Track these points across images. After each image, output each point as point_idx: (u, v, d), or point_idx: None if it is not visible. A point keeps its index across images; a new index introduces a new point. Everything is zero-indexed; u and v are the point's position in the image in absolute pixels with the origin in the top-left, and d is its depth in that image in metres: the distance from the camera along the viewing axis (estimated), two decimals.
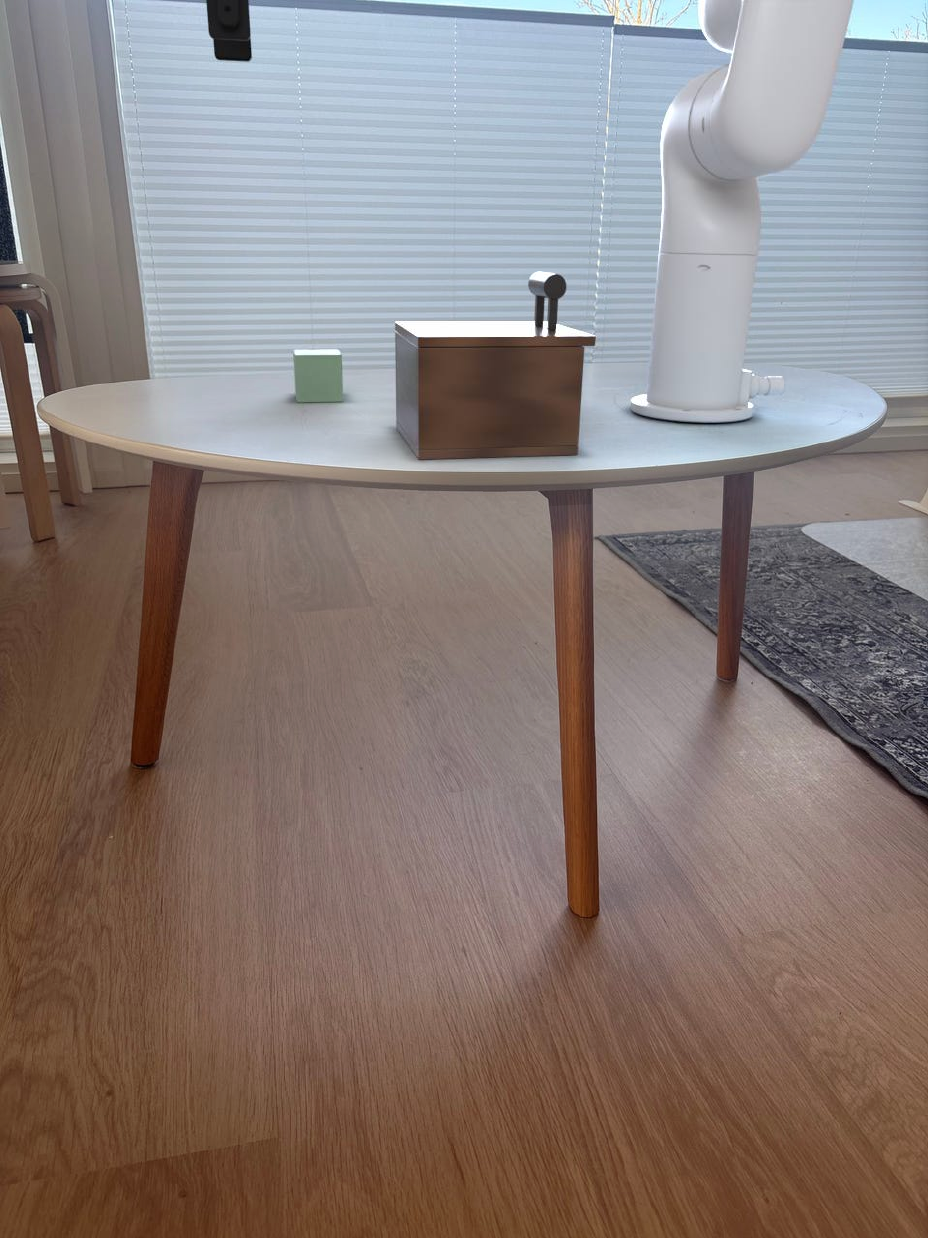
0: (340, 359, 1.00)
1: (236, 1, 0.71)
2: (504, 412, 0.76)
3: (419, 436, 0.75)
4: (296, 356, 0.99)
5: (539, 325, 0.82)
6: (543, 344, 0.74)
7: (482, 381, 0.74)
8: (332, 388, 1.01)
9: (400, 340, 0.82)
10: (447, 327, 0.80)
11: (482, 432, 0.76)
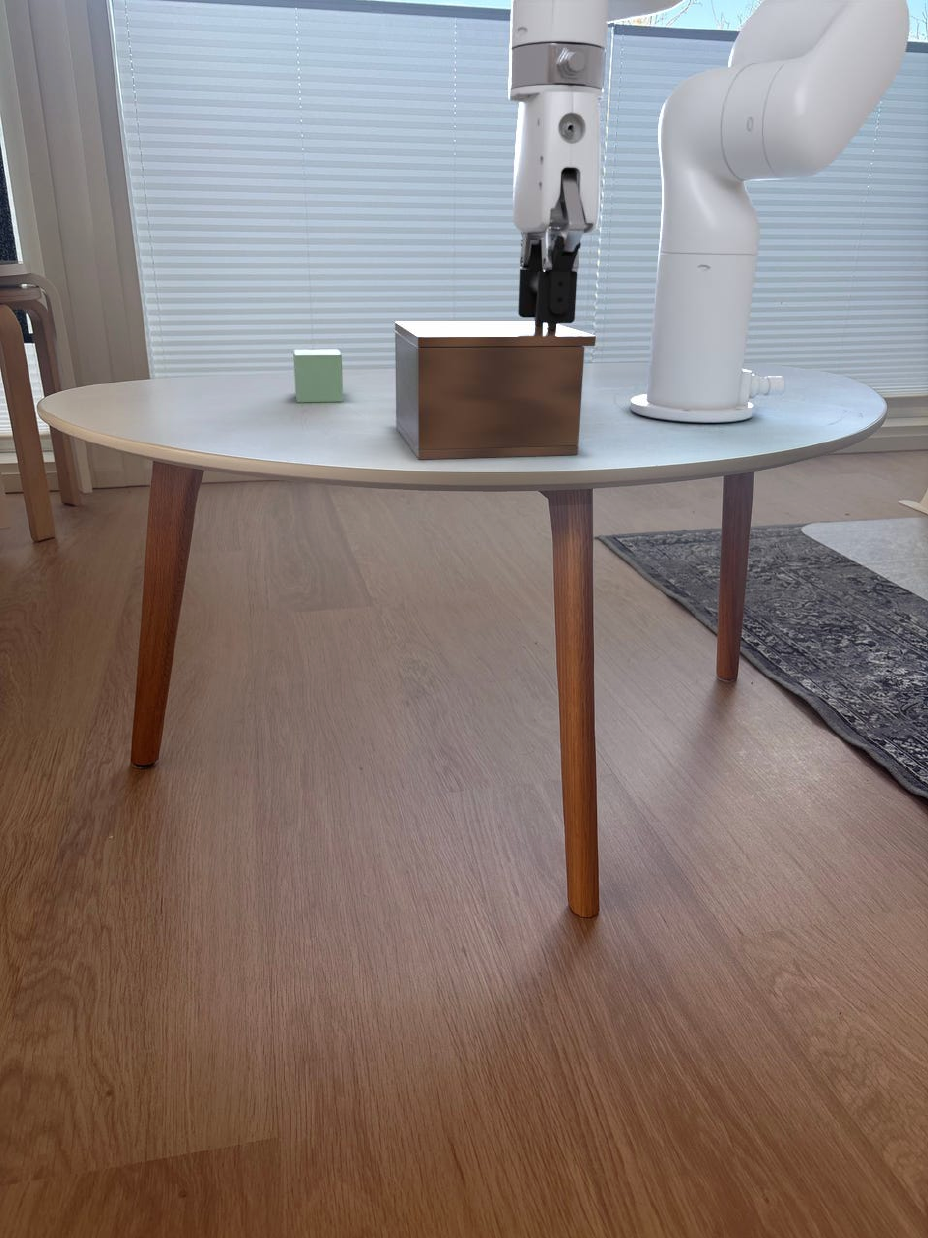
0: (340, 359, 1.00)
1: (568, 293, 0.76)
2: (504, 412, 0.76)
3: (419, 436, 0.75)
4: (296, 356, 0.99)
5: (539, 325, 0.82)
6: (543, 344, 0.74)
7: (482, 381, 0.74)
8: (332, 388, 1.01)
9: (400, 340, 0.82)
10: (447, 327, 0.80)
11: (482, 432, 0.76)
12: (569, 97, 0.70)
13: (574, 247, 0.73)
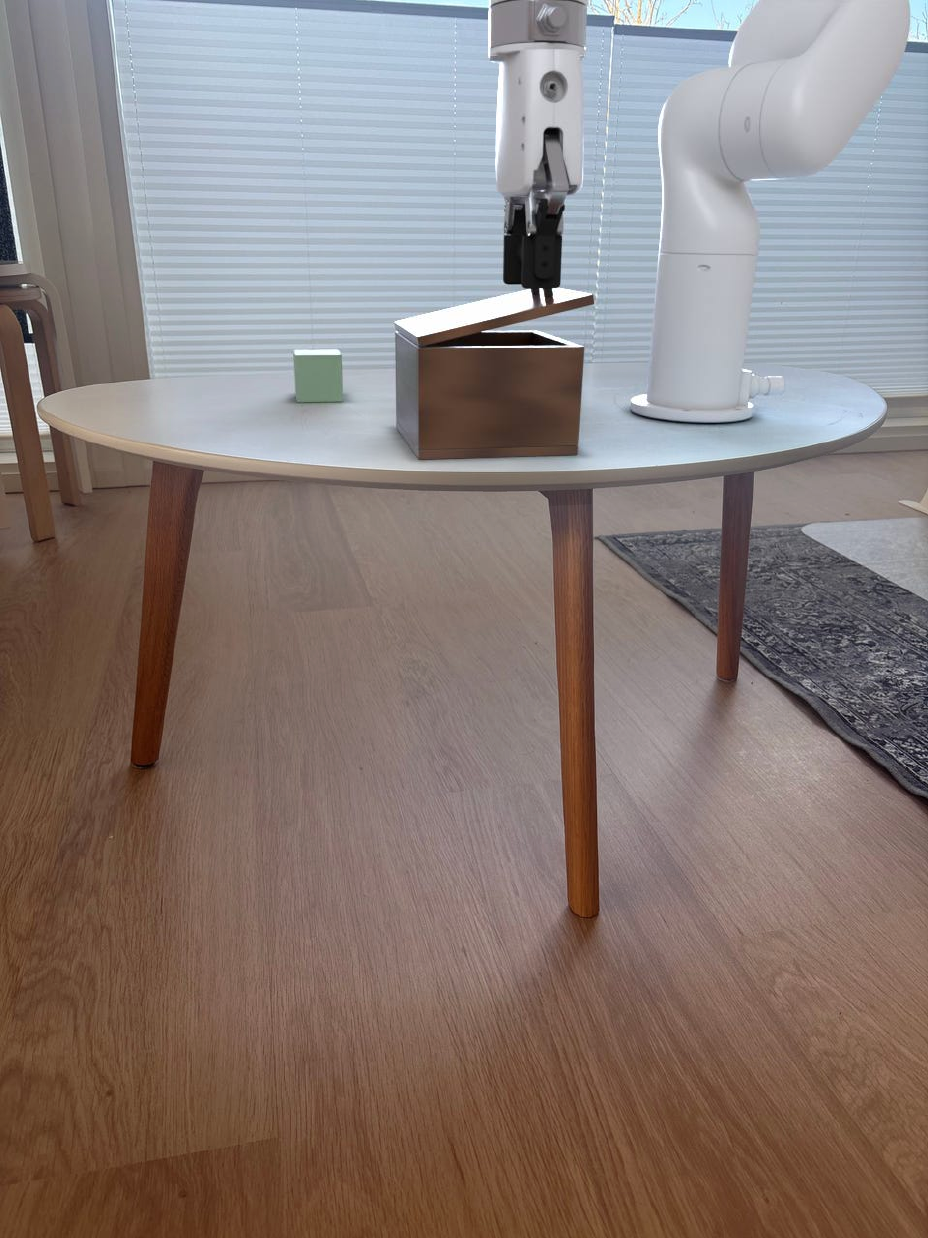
0: (340, 359, 1.00)
1: (553, 257, 0.75)
2: (504, 412, 0.76)
3: (419, 436, 0.75)
4: (296, 356, 0.99)
5: (536, 293, 0.81)
6: (542, 315, 0.73)
7: (482, 381, 0.74)
8: (332, 388, 1.01)
9: (400, 340, 0.82)
10: (445, 317, 0.79)
11: (482, 432, 0.76)
12: (550, 54, 0.69)
13: (558, 209, 0.72)
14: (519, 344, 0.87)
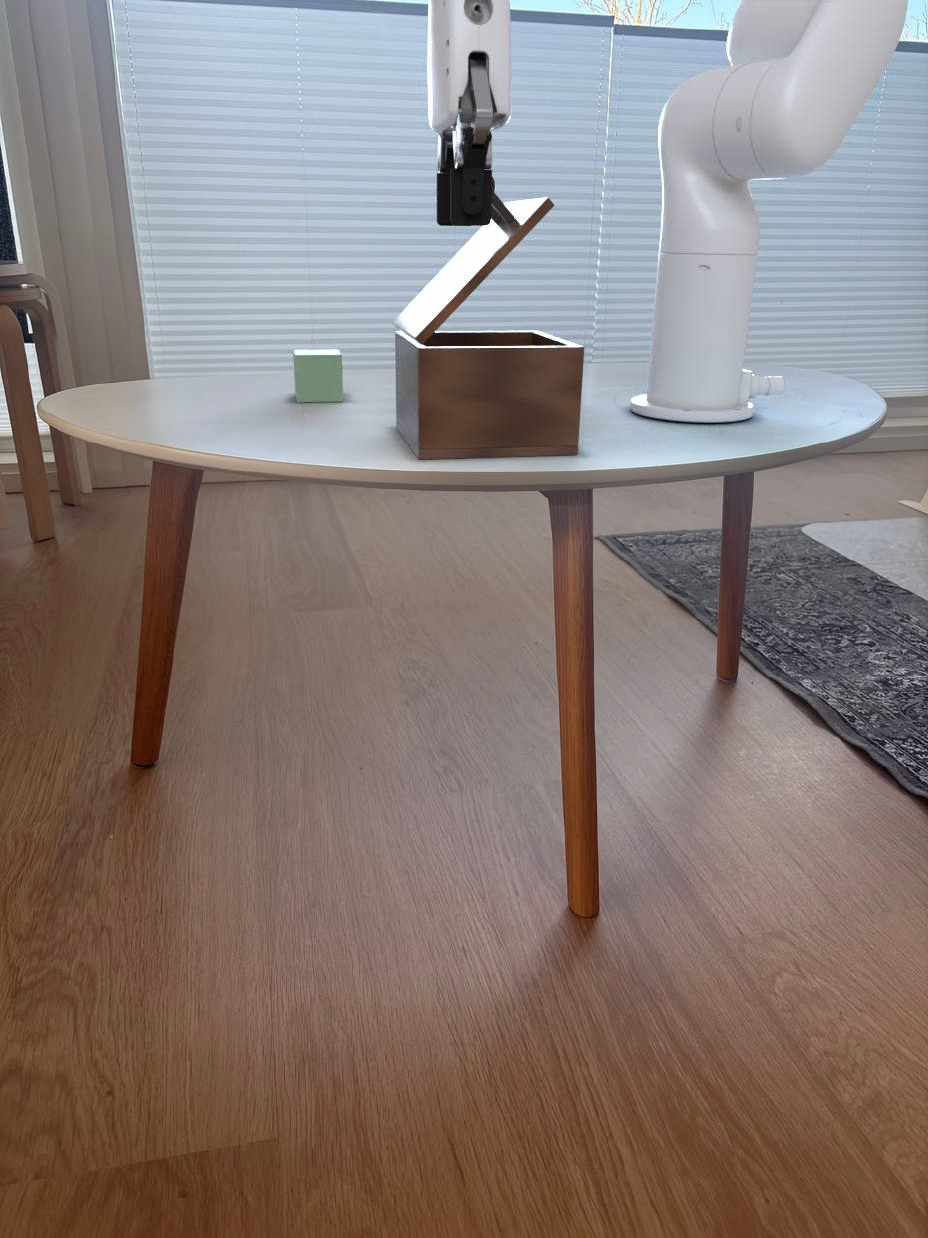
0: (340, 359, 1.00)
1: (482, 192, 0.72)
2: (504, 412, 0.76)
3: (419, 436, 0.75)
4: (296, 356, 0.99)
5: (499, 220, 0.78)
6: (513, 246, 0.71)
7: (482, 381, 0.74)
8: (332, 388, 1.01)
9: (400, 340, 0.82)
10: (431, 296, 0.79)
11: (482, 432, 0.76)
12: None
13: (485, 138, 0.69)
14: (519, 344, 0.87)
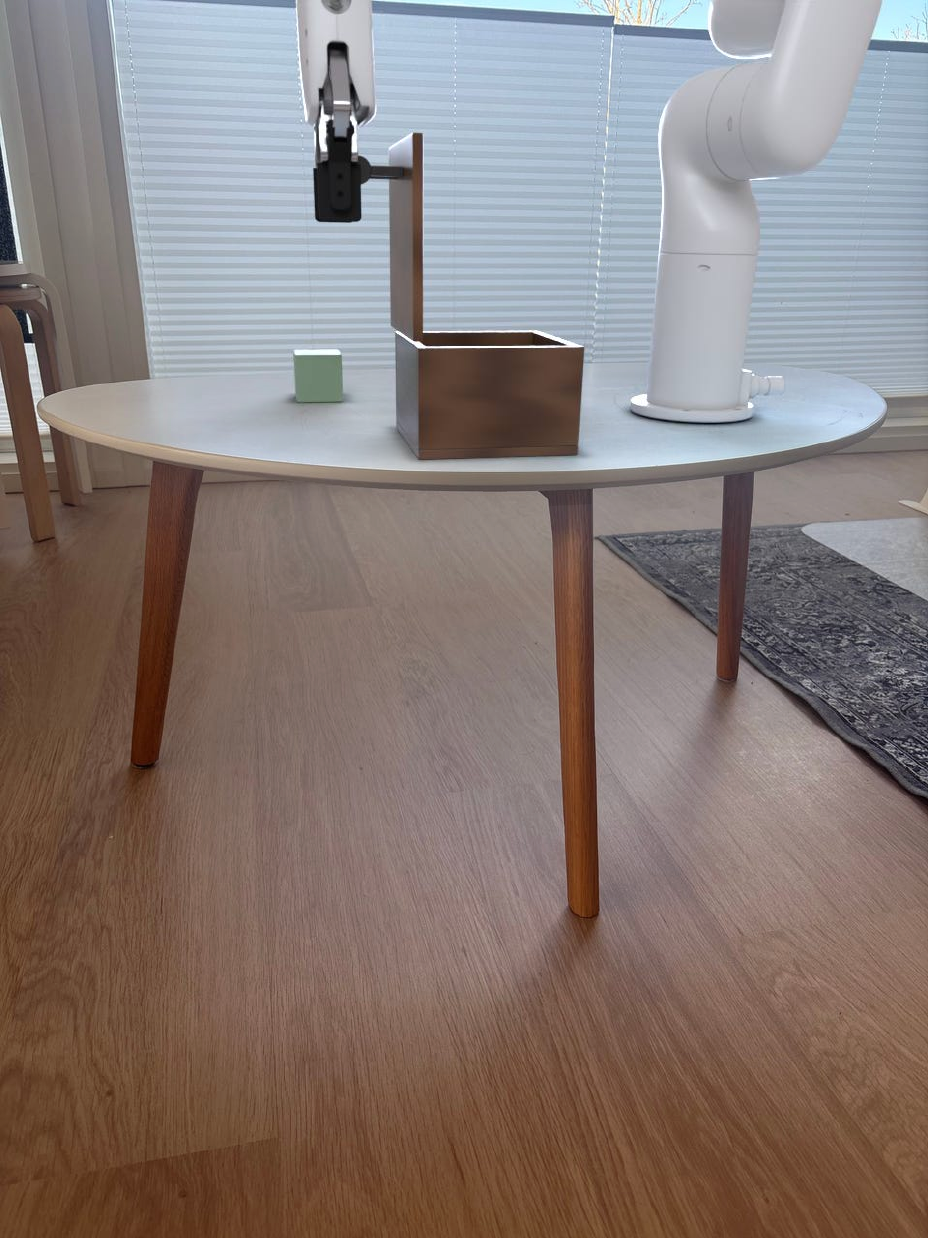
0: (340, 359, 1.00)
1: (349, 187, 0.70)
2: (504, 412, 0.76)
3: (419, 436, 0.75)
4: (296, 356, 0.99)
5: None
6: (421, 199, 0.68)
7: (482, 381, 0.74)
8: (332, 388, 1.01)
9: (400, 340, 0.82)
10: (399, 285, 0.78)
11: (482, 432, 0.76)
12: None
13: (346, 131, 0.67)
14: (519, 344, 0.87)
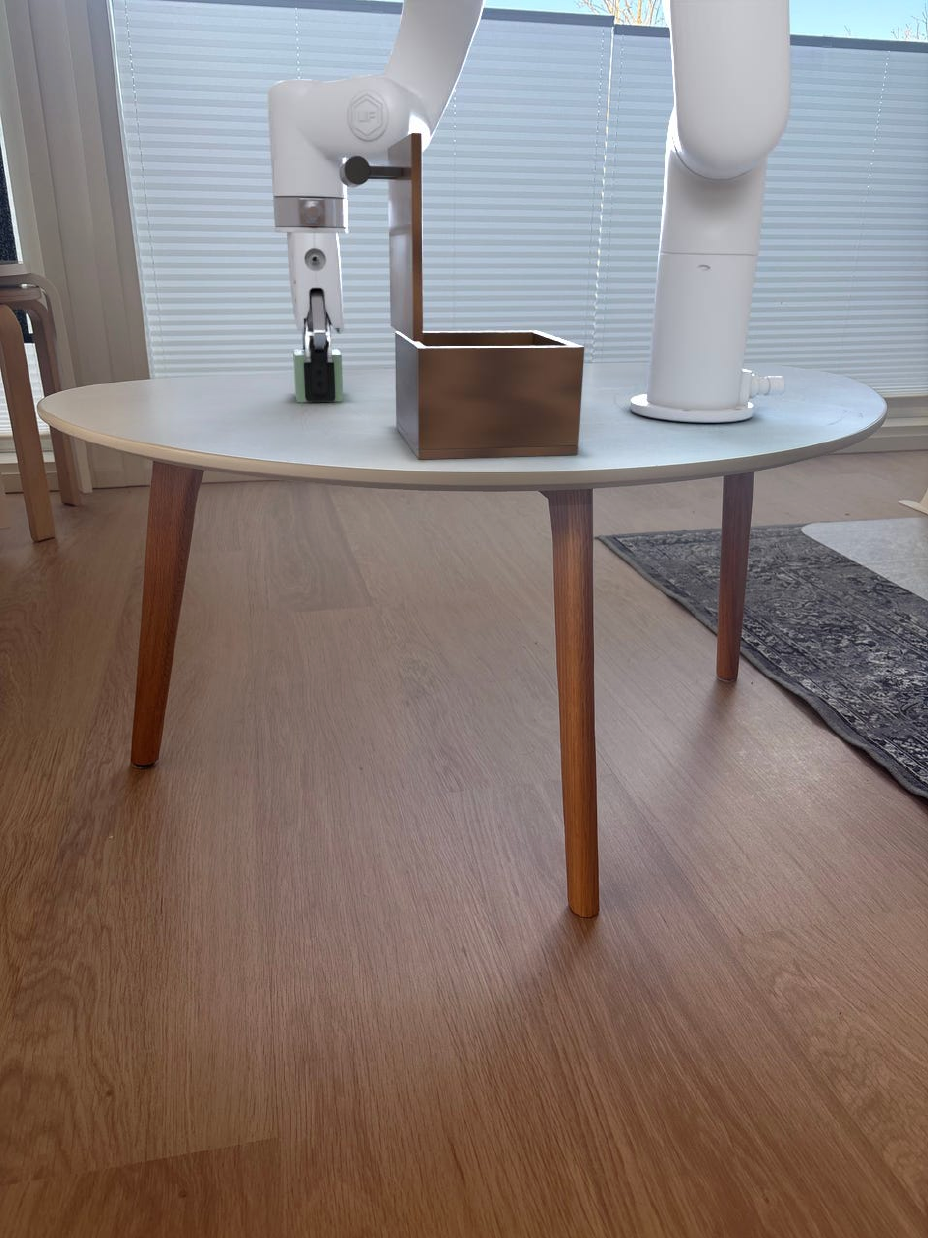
0: (340, 359, 1.00)
1: (326, 379, 0.99)
2: (504, 412, 0.76)
3: (419, 436, 0.75)
4: (296, 356, 0.99)
5: None
6: (420, 199, 0.68)
7: (482, 381, 0.74)
8: None
9: (400, 340, 0.82)
10: (398, 285, 0.78)
11: (482, 432, 0.76)
12: (311, 237, 0.93)
13: (323, 347, 0.96)
14: (519, 344, 0.87)
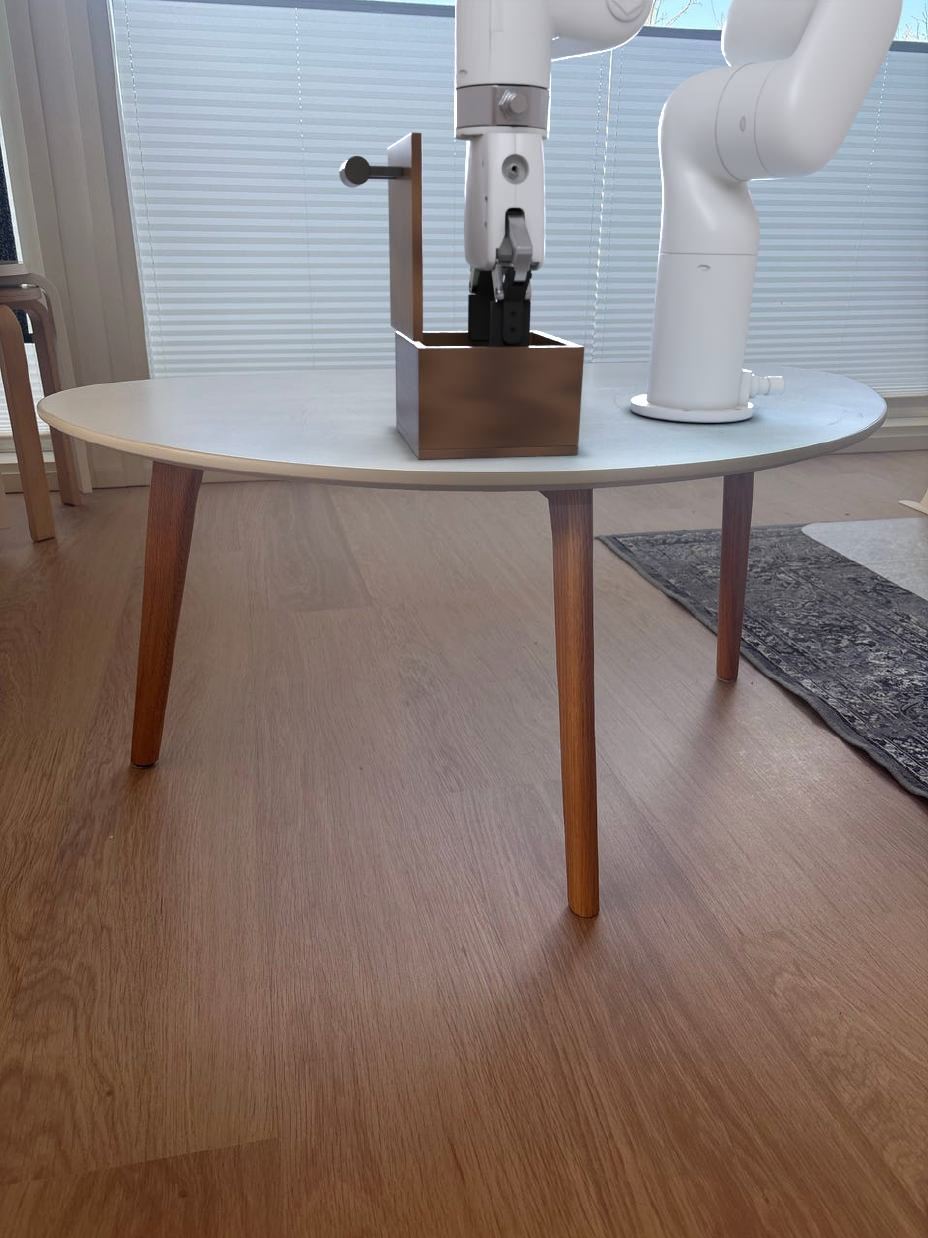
0: None
1: (521, 323, 0.75)
2: (504, 412, 0.76)
3: (419, 436, 0.75)
4: None
5: None
6: (420, 199, 0.68)
7: (482, 381, 0.74)
8: None
9: (400, 340, 0.82)
10: (398, 285, 0.78)
11: (482, 432, 0.76)
12: (512, 138, 0.70)
13: (525, 275, 0.72)
14: None
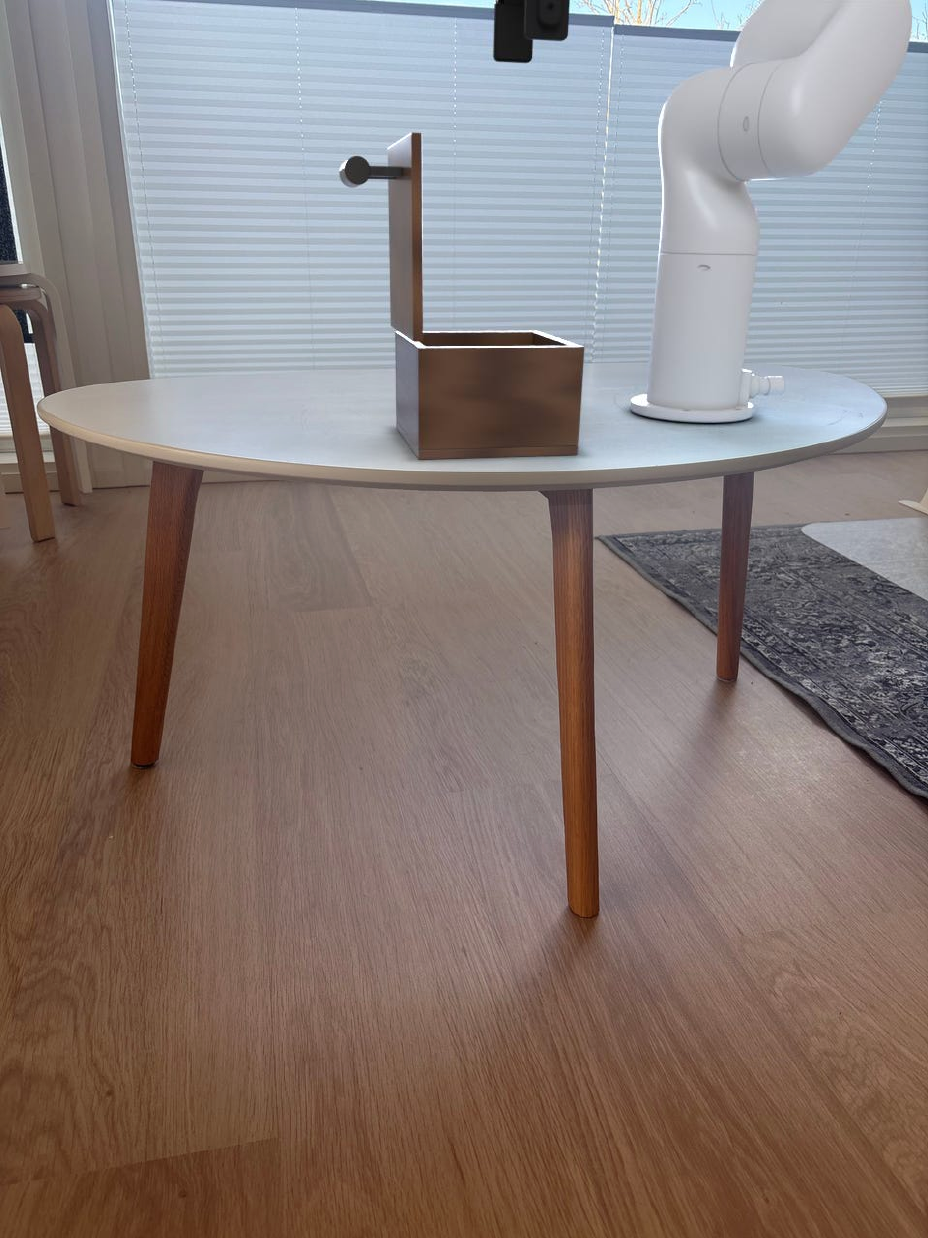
0: None
1: None
2: (504, 412, 0.76)
3: (419, 436, 0.75)
4: None
5: None
6: (420, 199, 0.68)
7: (482, 381, 0.74)
8: None
9: (400, 340, 0.82)
10: (398, 285, 0.78)
11: (482, 432, 0.76)
12: None
13: None
14: (519, 344, 0.87)
